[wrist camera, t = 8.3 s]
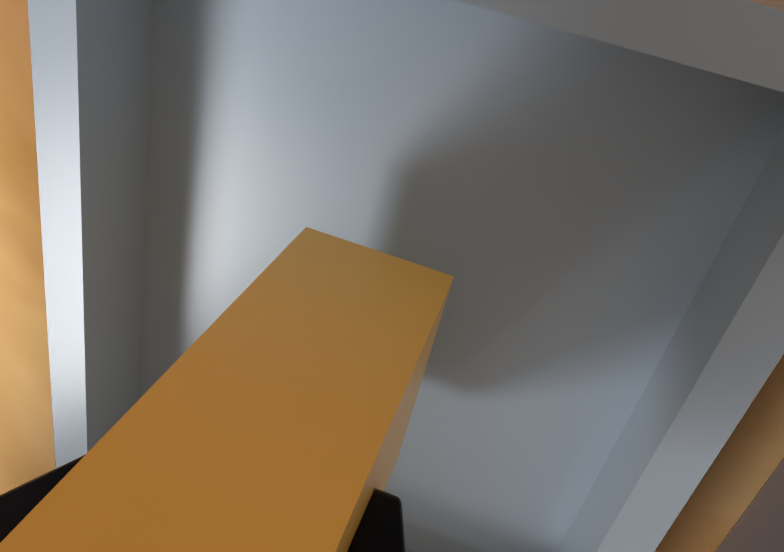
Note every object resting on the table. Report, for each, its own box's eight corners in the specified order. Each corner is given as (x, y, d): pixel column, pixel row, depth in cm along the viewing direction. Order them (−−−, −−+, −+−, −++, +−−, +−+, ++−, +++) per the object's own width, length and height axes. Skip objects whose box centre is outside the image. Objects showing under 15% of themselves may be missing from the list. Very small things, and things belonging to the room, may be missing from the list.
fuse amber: (398, 454, 13) (211, 932, 7) (275, 408, 13) (-6, 826, 7) (454, 276, 11) (255, 735, 5) (306, 226, 11) (-55, 598, 5)
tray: (556, 608, 16) (548, 713, 14) (124, 438, 18) (58, 509, 16) (892, 27, 9) (976, 60, 7) (133, -174, 11) (16, -194, 9)
